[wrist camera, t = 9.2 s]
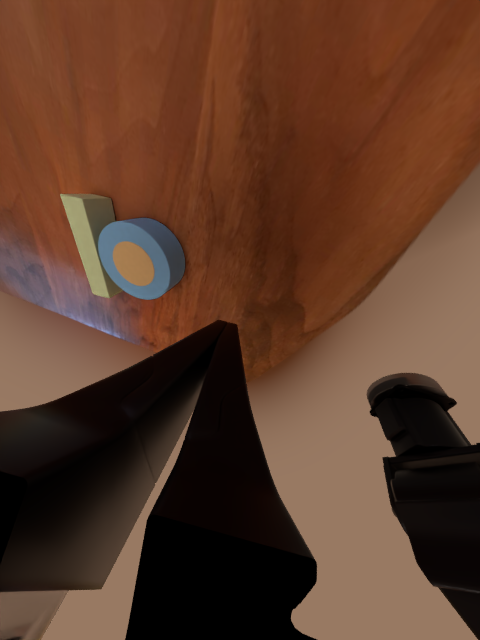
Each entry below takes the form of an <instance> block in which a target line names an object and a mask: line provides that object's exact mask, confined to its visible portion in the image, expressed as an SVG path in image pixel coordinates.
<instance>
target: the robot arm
mask: <svg viewBox="0 0 480 640" xmlns="http://www.w3.org/2000/svg"><path fill="white" fill-rule="evenodd" d="M456 404H457V402H456V401H455V400H454V399H453V398H450V397H447V396H443V395H439V394H435V393H432V392H428V391H424V390H421V389H417V388H413V387H410V386H406V385H402V384H398V385H395V386H394V387H393V388H392V389H391V390H390V391H389V392H388V393H387V394H386V395H385V396H384V397H383V398H382V399H381V400H380V401H379V402H378V403H377V404H376V405H375V406H374V407H373V408H372V409H371V410H370V415H371V416H374V417H377V418H379V421H380V424H381V426H382V429H383V431H384V434H385V437H386V438H387V440H389V441H390V442H391V444H392V447H393V449H394V452H395V455H396V457H383V463H384V472H385V477H386V482H387V488H388V493H389V498H390V503H391V506H392V511H393V513H394V515H395V516H396V517H397V518H398V520H399V522H400V524H401V526H402V527H403V529H404V531H405V532H406V534H407V535H408V536H409V539H410V543H411V545H412V549H413V552H414V555H415V559H416V562H417V564H418V565H419V567H420V569H421V570H422V571H423V573H424V575H425V576H426V577H427V579H428V580H429V582H430V583H431V584H432V585H433V586H435V587H438V588H439V589H440V590H441V592H442V593H443V594H444V596H445V597H446V598H447V599H448V601H449V602H450V603H451V605H452V606H453V607H454V609H455V610H456V611H457V612H458V614H459V615H460V616H461V618H462V619H463V620H464V622H465V623H466V624H467V626H468V627H469V628H470V630H471V631H472V632H473V633H474V635H475V636H476V637H477V639H478V640H480V443H477V445H471V444H470V442H469V441H468V440H467V438H466V437H465V435H464V434H463V433H462V431H461V430H460V428H459V427H458V426H457V424H456V423H455V421H454V420H453V418H452V417H451V416H450V414H449V413H448V410H449V409H451V408H452V407H454V406H455V405H456ZM194 408H195V409H194ZM193 410H194V412H193ZM192 412H193V415H192V418H191V421H190V424H189V427H188V430H187V433H186V436H185V440H184V442H183V445H182V448H181V451H180V453H179V456H178V458H177V461H176V463H175V465H174V467H173V469H172V471H171V473H170V475H169V477H168V479H167V481H166V483H165V485H164V487H163V489H162V491H161V493H160V495H159V497H158V499H157V501H156V503H155V505H154V507H153V509H152V511H151V513H150V515H149V517H148V519H147V524H146V529H145V534H144V540H143V546H142V551H141V557H140V562H139V568H138V574H137V579H136V585H135V590H134V596H133V602H132V608H131V613H130V619H129V624H128V629H127V634H126V639H125V640H316V639H314V638H312V637H309V636H307V635H305V634H302V633H301V632H299V631H298V630H297V629H296V628H295V627H294V625H293V623H292V622H291V613H292V610H293V609H295V608H296V607H297V606H298V604H300V603H301V602H302V600H303V599H304V598H305V597H306V595H307V594H308V593H309V591H311V589H312V588H313V586H314V585H315V584H316V580H317V564H316V561H315V559H314V557H313V556H312V554H311V552H310V550H309V548H308V547H307V545H306V543H305V541H304V539H303V538H302V536H301V534H300V532H299V531H298V529H297V527H296V525H295V523H294V522H293V520H292V518H291V516H290V514H289V513H288V511H287V509H286V507H285V506H284V504H283V502H282V500H281V498H280V496H279V494H278V492H277V489H276V487H275V485H274V482H273V479H272V476H271V474H270V470H269V467H268V465H267V461H266V458H265V455H264V451H263V448H262V444H261V441H260V438H259V435H258V432H257V428H256V425H255V421H254V418H253V414H252V410H251V406H250V401H249V396H248V391H247V384H246V379H245V372H244V366H243V359H242V353H241V347H240V340H239V334H238V327H237V325H236V324H233V323H227V322H226V321H222V320H217V321H215V322H213V323H211V324H210V325H208V326H206V327H204V328H202V329H200V330H198V331H197V332H195V333H193V334H191V335H189V336H187V337H186V338H184V339H182V340H180V341H178V342H176V343H174V344H173V345H171V346H169V347H167V348H165V349H163V350H161V351H160V352H158V353H156V354H154V355H153V356H150V357H148V358H146V359H145V360H143V361H141V362H139V363H137V364H135V365H133V366H131V367H129V368H127V369H125V370H123V371H120V372H118V373H116V374H114V375H112V376H110V377H108V378H105V379H103V380H101V381H98V382H96V383H94V384H91V385H89V386H87V387H85V388H82V389H80V390H78V391H75V392H74V393H71V394H69V395H66V396H64V397H62V398H59V399H57V400H54V401H51V402H48V403H46V404H42V405H39V406H35V407H30V408H25V409H18V410H11V411H2V412H0V640H41V639H42V637H43V635H44V633H45V632H46V630H47V628H48V626H49V625H50V623H51V621H52V619H53V617H54V616H55V614H56V612H57V610H58V609H59V607H60V605H61V603H62V601H63V599H64V598H65V596H66V594H67V593H68V591H69V590H95V589H102V587H103V585H104V583H105V581H106V579H107V577H108V575H109V574H110V572H111V570H112V568H113V566H114V564H115V562H116V560H117V558H118V556H119V554H120V552H121V550H122V548H123V546H124V544H125V542H126V540H127V538H128V537H129V535H130V533H131V531H132V529H133V527H134V525H135V523H136V521H137V519H138V517H139V515H140V513H141V511H142V509H143V507H144V505H145V503H146V502H147V500H148V498H149V496H150V494H151V492H152V490H153V488H154V486H155V483H156V482H157V480H158V478H159V476H160V474H161V472H162V470H163V469H164V467H165V465H166V463H167V461H168V459H169V457H170V455H171V453H172V451H173V449H174V447H175V445H176V443H177V441H178V439H179V437H180V435H181V434H182V431H183V430H184V428H185V426H186V424H187V422H188V420H189V418H190V416H191V414H192Z"/></svg>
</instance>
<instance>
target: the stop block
mask: <svg viewBox="0 0 480 640" xmlns="http://www.w3.org/2000/svg"><path fill="white" fill-rule="evenodd" d="M60 196H61V199H62V202H63V205H64V208H65V211H66V214H67V217H68V220H69V223H70V226H71V229H72V232H73V235H74V238H75V241H76V244H77V247H78V250H79V253H80V256H81V259H82V262H83V265H84V268H85V271H86V274H87V277H88V280H89V283H90V286H91V290H92V293H93V294H95V295H99V296H102V297H106V298H111V297H113V296H115V295H116V294H118V293H120V292H122V291H123V290H122V289H121V288H120V287H119V286H118V285H117V284H116V283H115V282H114V281H113V280H112V279H111V278H110V276H109V275H108V273H107V272H106V270H105V268H104V266H103V264H102V262H101V259H100V256H99V250H98V241H99V236H100V233H101V232H102V230H103V229H104V228H105V227H106V226H107V225H108V224H110V223H112V222H116V220H115V215H114V210H113V205H112V200H111V198H109V197H104V196H99V195H94V194H60Z"/></svg>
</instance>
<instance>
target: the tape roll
mask: <svg viewBox="0 0 480 640" xmlns="http://www.w3.org/2000/svg"><path fill="white" fill-rule="evenodd" d="M98 250H99V256H100V259H101V262H102V264H103V266H104V268H105V270H106V272H107V273H108V275H109V276H110V278H111V279H112V280H113V281H114V282H115V283H116V284H117V285H118V286H119V287H120V288H121V289H122V290H124V291H125V292H127V293H128V294H130V295H132V296H134V297H137V298H140V299H146V300H150V299H156V298H159V297H160V296H162V295H163V294H165V293H166V292H167V291H168V290H170V289H171V288H172V287H174V286H175V285H176V284H177V283H178V282H179V281H180V280H181V279H182V277H183V274H184V271H185V257H184V253H183V250H182V247H181V245H180V243H179V241H178V240H177V238H176V237H175V235H174V234H173V233H172V232H171V231H170V230H169V229H168V228H167V227H166V226H164V225H163V224H161V223H160V222H158V221H156V220H153V219H150V218H136V219H129V220H123V221H117V222H112V223H110V224H108V225H107V226H106V227H105V228H104V229H103V230H102V232H101V233H100V236H99V241H98Z"/></svg>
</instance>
